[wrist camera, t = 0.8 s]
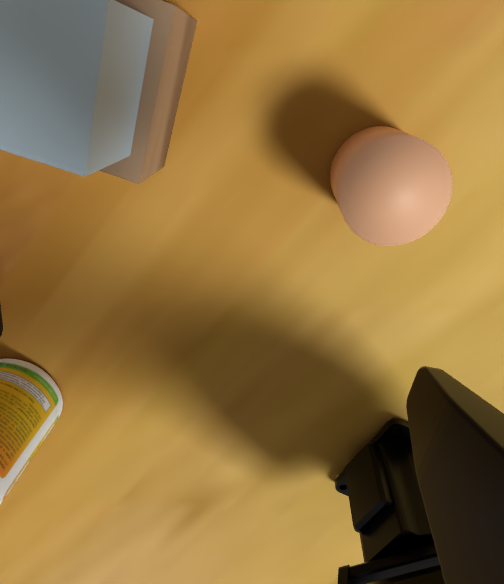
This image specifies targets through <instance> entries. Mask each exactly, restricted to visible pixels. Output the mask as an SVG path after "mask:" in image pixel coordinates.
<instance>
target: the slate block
mask: <svg viewBox="0 0 504 584" xmlns="http://www.w3.org/2000/svg"><path fill="white" fill-rule="evenodd" d="M153 20H154V19H152V18H150V17H148V16H146V15H144V14H142V13H140V12H138V11H136V10H134V9H131V8H129V7H127V6H125V5H123V4H121V3H119V2H117V1H115V0H0V150H3V151H6V152H9V153H13V154H16V155H19V156H22V157H25V158H28V159H31V160H35V161H38V162H41V163H44V164H47V165H50V166H53V167H57V168H60V169H63V170H66V171H69V172H72V173H75V174H79V175H82V176H85V177H86V176H88V175H90V174H92V173H94V172H96V171H98V170H101V169H103V168H105V167H107V166H109V165H111V164H113V163H116V162H118V161H120V160H122V159H124V158H126V157H128V156H130V153H131V148H132V142H133V136H134V130H135V125H136V119H137V113H138V107H139V101H140V96H141V90H142V84H143V78H144V72H145V67H146V61H147V55H148V49H149V43H150V38H151V32H152V26H153Z"/></svg>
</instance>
